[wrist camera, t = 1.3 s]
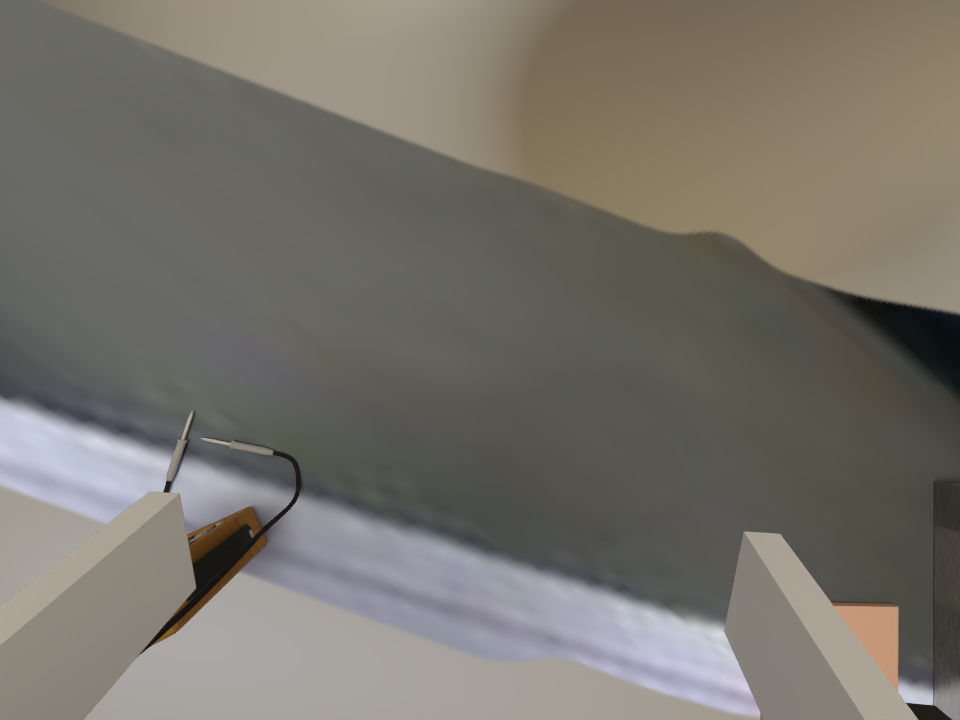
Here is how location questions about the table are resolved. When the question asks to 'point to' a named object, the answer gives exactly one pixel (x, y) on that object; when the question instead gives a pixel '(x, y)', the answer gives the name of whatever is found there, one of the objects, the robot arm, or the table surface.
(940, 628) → the rail
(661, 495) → the table surface
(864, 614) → the pad
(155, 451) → the table surface
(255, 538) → the multimeter
